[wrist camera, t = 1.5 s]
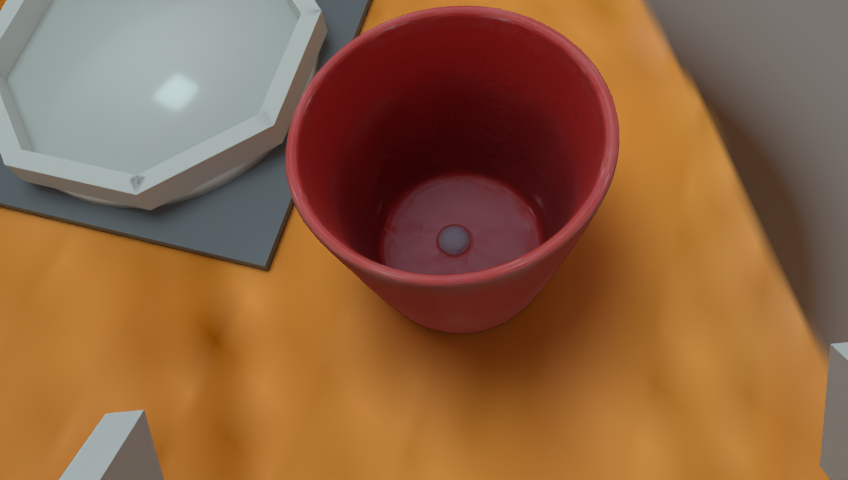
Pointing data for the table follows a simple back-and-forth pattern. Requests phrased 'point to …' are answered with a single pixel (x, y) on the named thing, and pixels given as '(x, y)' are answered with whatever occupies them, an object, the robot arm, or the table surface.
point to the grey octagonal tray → (161, 114)
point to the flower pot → (453, 160)
